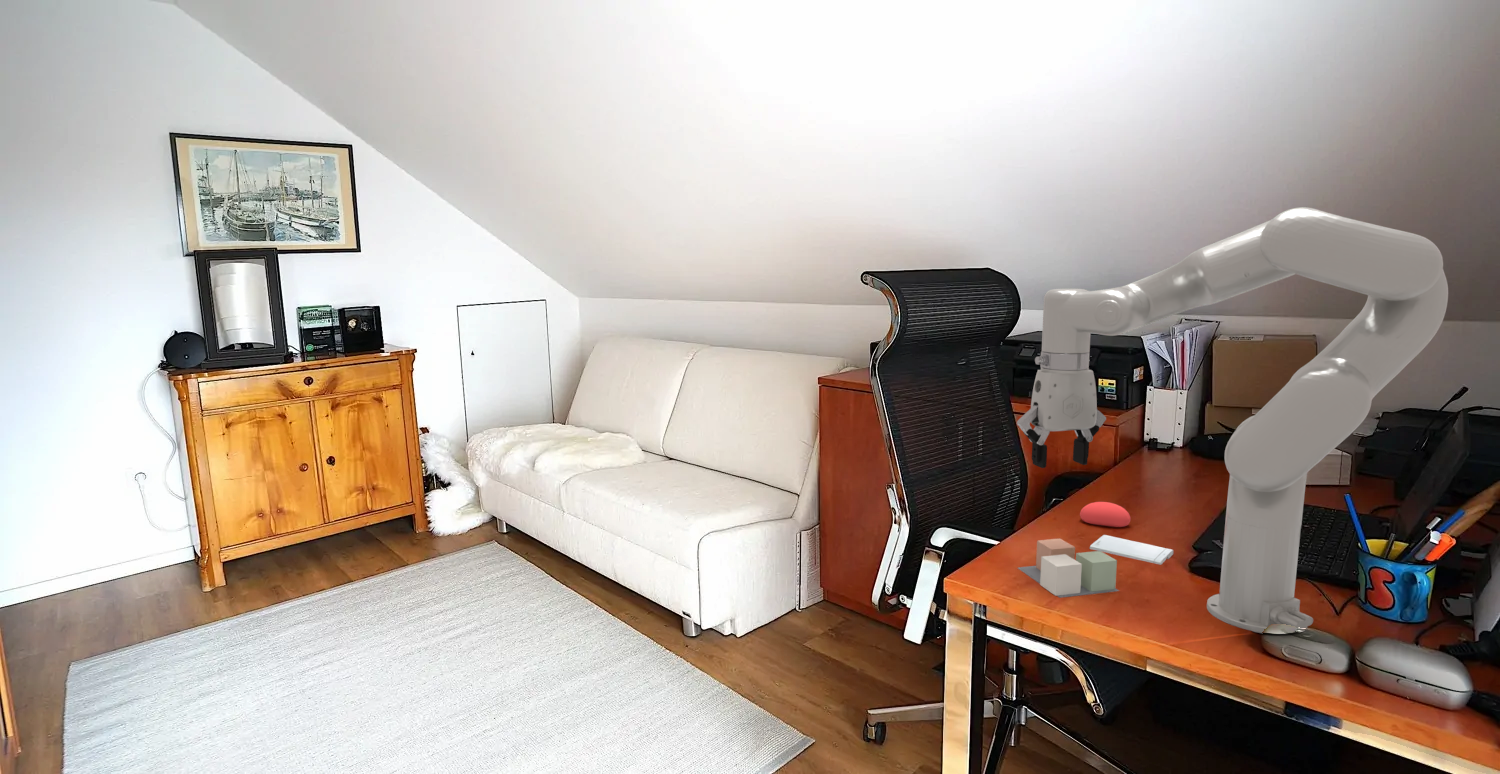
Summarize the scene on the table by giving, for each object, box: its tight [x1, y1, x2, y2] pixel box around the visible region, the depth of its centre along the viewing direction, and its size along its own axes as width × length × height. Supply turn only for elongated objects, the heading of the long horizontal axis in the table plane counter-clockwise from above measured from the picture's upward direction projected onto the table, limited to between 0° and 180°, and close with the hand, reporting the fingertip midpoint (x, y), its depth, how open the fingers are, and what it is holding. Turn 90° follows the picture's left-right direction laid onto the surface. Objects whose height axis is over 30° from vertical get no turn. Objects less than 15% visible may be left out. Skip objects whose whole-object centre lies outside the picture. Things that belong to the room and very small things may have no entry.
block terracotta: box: [1035, 538, 1076, 571], centre depth 138 cm, size 4×4×5 cm
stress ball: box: [1079, 501, 1132, 528], centre depth 163 cm, size 5×9×6 cm, turn 52°
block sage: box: [1075, 550, 1118, 592], centre depth 132 cm, size 4×4×5 cm
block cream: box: [1039, 554, 1082, 597], centre depth 131 cm, size 4×4×5 cm
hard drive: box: [1089, 534, 1174, 565], centre depth 148 cm, size 2×8×12 cm
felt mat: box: [1017, 565, 1120, 599], centre depth 135 cm, size 13×11×1 cm
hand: (1059, 463), depth 135 cm, fingers open, 7 cm apart
